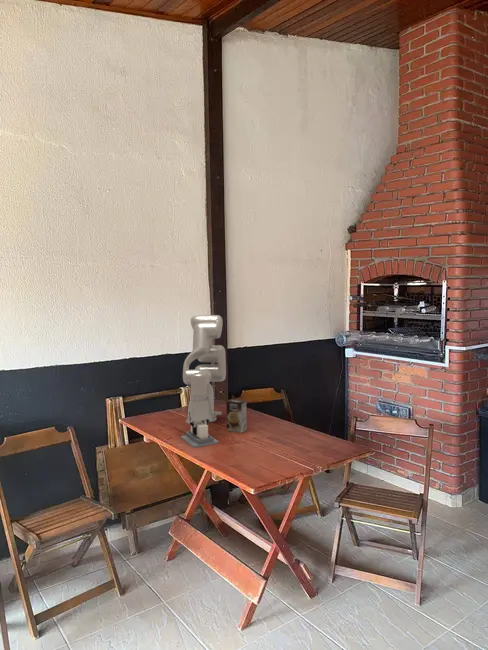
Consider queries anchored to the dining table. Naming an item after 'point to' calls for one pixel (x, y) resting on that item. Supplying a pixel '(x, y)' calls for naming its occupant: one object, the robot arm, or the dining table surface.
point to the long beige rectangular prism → (201, 430)
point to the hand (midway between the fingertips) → (199, 433)
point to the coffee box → (236, 415)
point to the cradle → (198, 440)
